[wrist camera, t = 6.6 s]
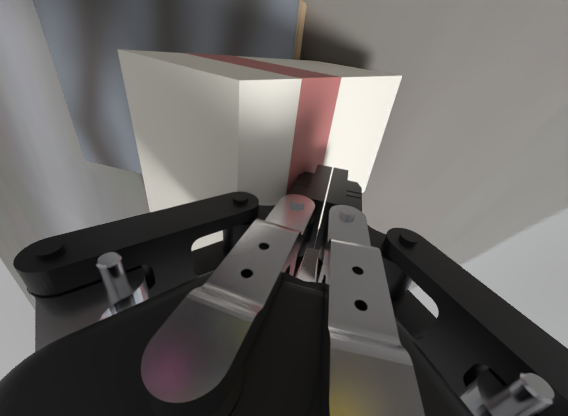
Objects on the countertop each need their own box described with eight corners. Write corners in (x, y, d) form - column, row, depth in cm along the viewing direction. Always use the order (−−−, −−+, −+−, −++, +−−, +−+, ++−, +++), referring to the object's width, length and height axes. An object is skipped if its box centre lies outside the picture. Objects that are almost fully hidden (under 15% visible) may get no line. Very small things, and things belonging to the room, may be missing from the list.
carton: (402, 75, 17) (240, 80, 7) (364, 191, 22) (235, 296, 12) (315, 60, 21) (116, 48, 10) (299, 164, 26) (153, 227, 15)
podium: (306, 4, 19) (298, -3, 17) (282, 191, 28) (274, 205, 25) (60, -24, 22) (22, -34, 20) (107, 151, 31) (84, 160, 29)
